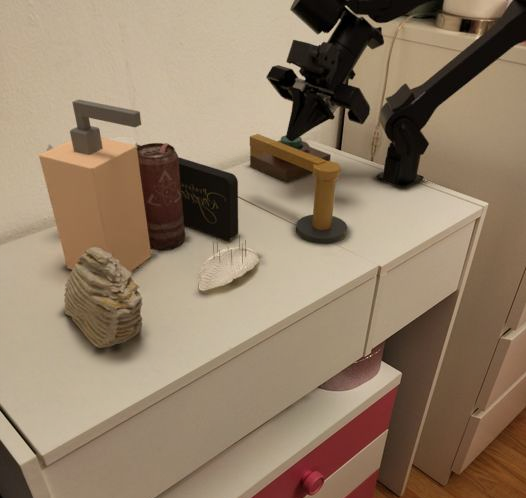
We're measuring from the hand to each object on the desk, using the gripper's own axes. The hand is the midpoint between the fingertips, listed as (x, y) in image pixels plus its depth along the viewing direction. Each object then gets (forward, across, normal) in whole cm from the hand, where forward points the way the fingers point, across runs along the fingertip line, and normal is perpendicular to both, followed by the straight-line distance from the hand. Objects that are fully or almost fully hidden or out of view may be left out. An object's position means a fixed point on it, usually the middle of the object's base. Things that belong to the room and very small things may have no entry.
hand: (288, 139), depth 89 cm
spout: (+5, +5, -1) cm, 7 cm away
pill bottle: (+24, -14, -9) cm, 29 cm away
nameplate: (+20, -5, -6) cm, 22 cm away
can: (+24, -2, -10) cm, 26 cm away
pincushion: (+24, +12, -9) cm, 28 cm away
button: (-3, -10, +12) cm, 16 cm away
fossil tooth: (+37, +11, -22) cm, 45 cm away
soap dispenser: (+31, 0, -16) cm, 35 cm away
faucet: (+10, +12, +4) cm, 16 cm away
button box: (0, -10, +15) cm, 18 cm away
